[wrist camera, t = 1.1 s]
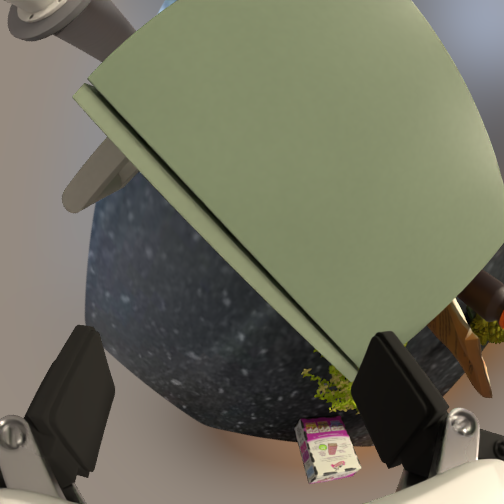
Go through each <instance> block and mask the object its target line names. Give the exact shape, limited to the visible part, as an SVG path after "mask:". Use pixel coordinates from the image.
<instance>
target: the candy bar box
mask: <svg viewBox="0 0 504 504" xmlns="http://www.w3.org/2000/svg"><path fill="white" fill-rule="evenodd" d="M294 430H295V434H296V438H297V441H298V445H299V449H300V452H301V456H302V460H303V464H304V467H305V471H306V475H307V479H308V483H309V484H311V483H318V482H325V481H330V480H335V479H341V478H345V477H350V476H353V475H354V474H355V473H356V472H357V471H358V470H360V468H361V465H360V462H359V460H358V457H357V455H356V452H355V450H354V447H353V445H352V442H351V440H350V437H349V435H348V432H347V430H346V427H345V425H344V422H343V420H342V418H341V416H331V417H319V418H302V419H300V420H299V421H298V423H297V425H296V426H295V428H294Z"/></svg>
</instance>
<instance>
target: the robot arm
mask: <svg viewBox="0 0 504 504" xmlns="http://www.w3.org/2000/svg"><path fill="white" fill-rule="evenodd" d="M4 1H7V2H9V3H11V4H13V5H15V6H17V13H18V17H19V18H20V19H21V20H22V21H25V22H29V23H32V22H37V21H40V20H42V19H44V18H46V17H48V16H49V15H51V14H53V13H54V12H55V11H57V10H58V9H59V8H60V7H61V6H62V5H64V4H65V3H66V2H67V1H68V0H4ZM114 395H115V386H114V383H113V379H112V376H111V373H110V370H109V366H108V363H107V359H106V356H105V352H104V348H103V345H102V341H101V337H100V334H99V332H96V331H95V329H94V327H91V326H84V325H77V326H76V327H75V329H74V330H73V332H72V333H71V335H70V337H69V339H68V340H67V342H66V343H65V345H64V347H63V348H62V350H61V352H60V353H59V355H58V357H57V359H56V360H55V361H54V362H53V363H52V365H51V367H50V368H49V370H48V372H47V374H46V376H45V377H44V379H43V381H42V383H41V385H40V387H39V389H38V391H37V392H36V395H35V397H34V398H33V401H32V403H31V404H30V406H29V408H28V411H27V413H26V415H25V417H24V419H23V418H22V417H20V416H16V415H8V416H5V417H3V418H1V419H0V504H86V502H85V500H84V498H83V497H82V495H81V493H80V492H79V490H78V488H77V486H76V485H75V480H76V476H77V475H80V476H83V477H86V478H88V476H89V472H93V471H94V469H95V465H96V461H97V457H98V452H99V449H100V445H101V441H102V437H103V434H104V430H105V426H106V423H107V419H108V416H109V412H110V409H111V405H112V402H113V399H114ZM351 395H352V398H353V400H354V402H355V404H356V406H357V408H358V411H359V413H360V415H361V417H362V419H363V421H364V423H365V426H366V428H367V430H368V432H369V434H370V437H371V439H372V441H373V443H374V445H375V448H376V450H377V452H378V454H379V457H380V458H381V461H382V462H383V463H386V465H387V467H388V469H389V468H392V467H395V466H398V465H400V464H401V463H402V465H403V467H404V469H403V472H402V476H401V478H400V481H399V484H398V487H397V489H396V492H395V493H393V494H390V495H388V496H385V497H382V498H379V499H376V500H373V501H370V502H367V503H364V504H504V436H502V435H499V434H496V433H492V432H489V431H486V430H483V429H480V426H479V421H478V419H477V417H476V416H475V415H474V414H473V413H472V412H470V411H469V410H467V409H464V408H455V409H453V410H452V411H451V412H450V413H449V414H448V413H447V409H448V408H449V406H448V404H447V403H446V401H445V400H444V398H443V397H442V396H441V394H440V393H439V391H438V390H437V389H436V387H435V386H434V385H433V383H432V382H431V380H430V379H429V378H428V376H427V375H426V374H425V372H424V371H423V370H422V368H421V367H420V366H419V364H418V363H417V362H416V360H415V359H414V358H413V356H412V355H411V354H410V353H409V351H408V350H407V349H406V347H405V346H404V345H403V344H402V342H401V341H400V340H399V338H398V337H397V336H396V335H395V333H394V332H393V331H384V332H377V333H376V334H375V336H374V337H372V338H371V340H370V343H369V346H368V348H367V351H366V353H365V356H364V358H363V361H362V363H361V365H360V368H359V370H358V373H357V375H356V377H355V379H354V382H353V384H352V386H351Z"/></svg>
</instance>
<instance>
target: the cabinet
mask: <svg viewBox="0 0 504 504" xmlns="http://www.w3.org/2000/svg"><path fill="white" fill-rule="evenodd" d="M88 80H89V81H90V82H91V84H92V85H93V86H94V87H95V88H96V89H97V90H98V91H99V92H100V93H101V94H102V95H103V96H104V98H105V99H106V100H107V101H108V102H109V103H110V104H111V105H112V106H113V107H114V108H115V109H116V110H117V111H118V113H119V114H120V115H121V116H122V117H123V118H124V119H125V120H126V121H127V122H128V123H129V124H130V125H131V126H132V128H133V129H134V130H135V131H136V132H137V133H138V134H139V135H140V136H141V137H142V138H143V139H144V140H145V141H146V142H147V144H148V145H149V146H150V147H151V148H152V149H153V150H154V151H155V152H156V153H157V154H158V155H159V156H160V157H161V159H162V160H163V161H164V162H165V163H166V164H167V165H168V166H169V167H170V168H171V169H172V170H173V171H174V172H175V173H176V175H177V176H178V177H179V178H180V179H181V180H182V181H183V182H184V183H185V184H186V185H187V186H188V187H189V188H190V189H191V191H192V192H193V193H194V194H195V195H196V196H197V197H198V198H199V199H200V200H201V201H202V202H203V203H204V204H205V205H206V206H207V208H208V209H209V210H210V211H211V212H212V213H213V214H214V215H215V216H216V217H217V218H218V219H219V220H220V221H221V222H222V224H223V225H224V226H225V227H226V228H227V229H228V230H229V231H230V232H231V233H232V234H233V235H234V236H235V237H236V238H237V239H238V241H239V242H240V243H241V244H242V245H243V246H244V247H245V248H246V249H247V250H248V251H249V252H250V253H251V254H252V255H253V256H254V258H255V259H256V260H257V261H258V262H259V263H260V264H261V265H262V266H263V267H264V268H265V269H266V270H267V271H268V272H269V273H270V275H271V276H272V277H273V278H274V279H275V280H276V281H277V282H278V283H279V284H280V285H281V286H282V287H283V288H284V289H285V290H286V292H287V293H288V294H289V295H290V296H291V297H292V298H293V299H294V300H295V301H296V302H297V303H298V304H299V305H300V306H301V307H302V308H303V310H304V311H305V312H306V313H307V314H308V315H309V316H310V317H311V318H312V319H313V320H314V321H315V322H316V323H317V324H318V325H319V326H320V328H321V329H322V330H323V331H324V332H325V333H326V334H327V335H328V336H329V337H330V338H331V339H332V340H333V341H334V342H335V343H336V344H337V346H338V347H339V348H340V349H341V350H342V351H343V352H344V353H345V354H346V355H347V356H348V357H349V358H350V359H351V360H352V361H353V362H354V363H355V365H356V366H357V367H358V368H360V365H361V363H362V361H363V358H364V356H365V353H366V351H367V348H368V346H369V343H370V340H371V338H372V337H374V336H375V334H376V333H377V332H384V331H393V332H394V333H395V335H396V336H397V337H398V338H399V340H400V341H401V342H402V344H403V345H404V344H405V343H406V342H408V341H409V340H410V339H411V338H412V337H414V336H415V335H416V334H417V333H418V332H419V331H420V330H422V329H423V328H424V327H425V326H426V325H427V324H428V323H429V322H431V321H432V320H433V319H434V318H435V317H436V316H437V315H438V314H439V313H440V312H441V311H442V310H443V309H444V308H445V307H446V306H447V305H449V304H450V303H451V302H452V301H453V300H454V299H455V298H456V297H457V295H458V294H459V293H460V292H461V291H462V290H463V289H464V288H465V287H466V286H467V285H468V284H469V283H470V282H471V281H472V280H473V279H474V277H475V276H476V275H477V274H478V273H479V272H480V271H481V270H482V268H483V267H484V266H485V265H486V264H487V263H488V261H489V260H490V259H491V258H492V257H493V255H494V254H495V253H496V252H497V250H498V249H499V248H500V247H501V245H502V244H503V243H504V185H503V181H502V177H501V173H500V170H499V167H498V164H497V160H496V157H495V154H494V151H493V148H492V145H491V142H490V139H489V137H488V134H487V132H486V129H485V126H484V124H483V122H482V119H481V117H480V114H479V112H478V110H477V107H476V105H475V103H474V101H473V99H472V96H471V94H470V92H469V90H468V88H467V86H466V84H465V82H464V80H463V78H462V77H461V75H460V73H459V71H458V69H457V67H456V66H455V64H454V62H453V60H452V59H451V57H450V55H449V54H448V52H447V50H446V49H445V47H444V45H443V44H442V42H441V41H440V40H439V38H438V36H437V35H436V33H435V32H434V30H433V29H432V28H431V26H430V25H429V23H428V22H427V21H426V19H425V18H424V16H423V15H422V14H421V12H420V11H419V10H418V8H417V7H416V6H415V5H414V4H413V2H412V1H411V0H177V1H176V2H174V3H173V4H171V5H170V6H169V7H167V8H166V9H164V10H163V11H162V12H160V13H159V14H158V15H156V16H155V17H154V18H152V19H151V20H150V21H149V22H147V23H146V24H145V25H144V26H142V27H141V28H140V29H139V30H137V31H136V32H135V33H134V34H133V35H132V36H130V37H129V38H128V39H127V40H126V41H125V42H124V43H122V44H121V45H120V46H119V47H118V48H117V49H116V50H115V51H114V52H113V53H112V54H111V55H110V56H109V57H107V58H106V59H105V60H104V61H103V62H102V63H101V64H100V65H99V66H98V67H97V69H96V70H95V71H94V72H93V73H92V74H91V75H90V76H89V77H88Z"/></svg>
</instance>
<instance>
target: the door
mask: <svg viewBox="0 0 504 504" xmlns="http://www.w3.org/2000/svg"><path fill="white" fill-rule="evenodd" d="M73 99H74V100H75V101H76V102H77V103H78V105H79V106H80V107H81V108H82V109H83V110H84V111H85V112H86V113H87V115H88V116H89V117H90V118H91V119H92V120H93V121H94V122H95V124H96V125H97V126H98V127H99V128H100V129H101V130H102V131H103V132H104V133H105V135H106V136H107V138H106V139H105V140H104V141H103V142H102V143H101V145H100V146H99V147H98V148H97V149H96V151H95V152H94V153H93V154H92V155H91V156H90V158H89V159H88V160H87V161H86V163H85V164H84V165H83V166H82V168H81V169H80V170H79V172H78V173H77V174H76V175H75V177H74V178H73V179H72V181H71V182H70V183H69V185H68V186H67V188H66V189H65V190H64V192H63V195H62V203H63V205H64V207H65V209H66V210H67V211H69V212H71V213H78V212H79V211H81V210H83V209H85V208H87V207H88V206H90V205H92V204H94V203H95V202H97V201H99V200H101V199H103V198H105V197H106V196H108V195H110V194H112V193H114V192H116V191H118V190H120V189H122V188H123V187H125V186H126V184H127V183H128V182H129V181H130V180H131V179H132V178H133V177H134V176H135V175H136V174H137V173H138V172H139V171H140V172H141V173H142V175H143V176H144V177H145V178H146V179H147V180H148V181H149V182H150V183H151V184H152V185H153V186H154V187H155V188H156V189H157V190H158V192H159V193H160V194H161V195H162V196H163V197H164V198H165V199H166V200H167V201H168V202H169V203H170V204H171V205H172V206H173V207H174V208H175V209H176V210H177V211H178V212H179V213H180V215H181V216H182V217H183V218H184V219H185V220H186V221H187V222H188V223H189V224H190V225H191V226H192V227H193V228H194V229H195V230H196V231H197V232H198V233H199V234H200V235H201V236H202V237H203V238H204V239H205V240H206V241H207V242H208V243H209V244H210V245H211V246H212V247H213V248H214V249H215V250H216V251H217V252H218V253H219V254H220V256H221V257H222V258H223V259H224V260H225V261H226V262H227V263H228V264H229V265H230V266H231V267H232V268H233V269H234V270H235V271H236V272H237V273H238V274H239V275H240V276H241V277H242V278H243V279H244V280H245V281H246V282H247V283H248V284H249V285H250V286H251V287H252V288H253V289H254V290H255V291H256V292H257V293H258V294H259V295H261V296H262V297H263V298H264V299H265V300H266V301H267V302H268V303H269V304H270V305H271V306H272V307H273V308H274V309H275V310H276V311H277V312H278V313H279V314H280V315H281V316H282V317H283V318H284V319H285V320H286V321H287V322H288V323H289V324H290V325H291V326H292V327H293V328H294V329H295V330H296V331H297V332H298V333H299V334H301V335H302V336H303V337H304V338H305V339H306V340H307V341H308V342H309V343H310V344H311V345H312V346H313V347H314V348H315V349H316V350H317V351H318V352H319V353H320V354H321V355H323V356H324V357H325V358H326V359H327V360H328V361H329V362H330V363H331V364H332V365H333V366H334V367H335V368H336V369H337V370H338V371H339V372H341V373H342V374H343V375H344V376H345V377H346V378H347V379H348V380H349V381H350V382H353V381H354V379H355V377H356V375H357V373H358V368H357V366H356V365H355V363H354V362H353V361H352V360H351V359H350V358H349V357H348V356H347V355H346V354H345V353H344V352H343V351H342V350H341V349H340V348H339V347H338V346H337V344H336V343H335V342H334V341H333V340H332V339H331V338H330V337H329V336H328V335H327V334H326V333H325V332H324V331H323V330H322V329H321V328H320V326H319V325H318V324H317V323H316V322H315V321H314V320H313V319H312V318H311V317H310V316H309V315H308V314H307V313H306V312H305V311H304V310H303V308H302V307H301V306H300V305H299V304H298V303H297V302H296V301H295V300H294V299H293V298H292V297H291V296H290V295H289V294H288V293H287V292H286V290H285V289H284V288H283V287H282V286H281V285H280V284H279V283H278V282H277V281H276V280H275V279H274V278H273V277H272V276H271V275H270V273H269V272H268V271H267V270H266V269H265V268H264V267H263V266H262V265H261V264H260V263H259V262H258V261H257V260H256V259H255V258H254V256H253V255H252V254H251V253H250V252H249V251H248V250H247V249H246V248H245V247H244V246H243V245H242V244H241V243H240V242H239V241H238V239H237V238H236V237H235V236H234V235H233V234H232V233H231V232H230V231H229V230H228V229H227V228H226V227H225V226H224V225H223V224H222V222H221V221H220V220H219V219H218V218H217V217H216V216H215V215H214V214H213V213H212V212H211V211H210V210H209V209H208V208H207V206H206V205H205V204H204V203H203V202H202V201H201V200H200V199H199V198H198V197H197V196H196V195H195V194H194V193H193V192H192V191H191V189H190V188H189V187H188V186H187V185H186V184H185V183H184V182H183V181H182V180H181V179H180V178H179V177H178V176H177V175H176V173H175V172H174V171H173V170H172V169H171V168H170V167H169V166H168V165H167V164H166V163H165V162H164V161H163V160H162V159H161V157H160V156H159V155H158V154H157V153H156V152H155V151H154V150H153V149H152V148H151V147H150V146H149V145H148V144H147V142H146V141H145V140H144V139H143V138H142V137H141V136H140V135H139V134H138V133H137V132H136V131H135V130H134V129H133V128H132V126H131V125H130V124H129V123H128V122H127V121H126V120H125V119H124V118H123V117H122V116H121V115H120V114H119V113H118V111H117V110H116V109H115V108H114V107H113V106H112V105H111V104H110V103H109V102H108V101H107V100H106V99H105V98H104V96H103V95H102V94H101V93H100V92H99V91H98V90H97V89H96V88H95V87H94V86H91V85H88V84H86V83H84V84H83V85H82V86H81V87H80V88H79V90H78V91H77V92H76V93H75V95H73Z"/></svg>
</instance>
